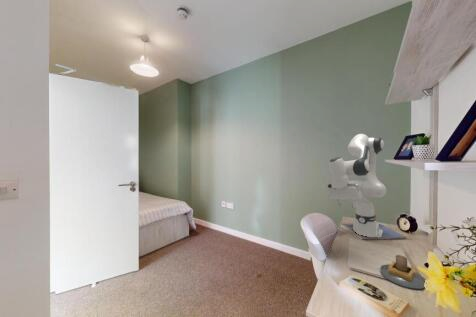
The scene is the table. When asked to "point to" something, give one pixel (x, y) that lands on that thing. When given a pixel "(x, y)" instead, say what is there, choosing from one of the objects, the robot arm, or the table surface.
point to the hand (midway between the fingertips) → (346, 206)
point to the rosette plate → (403, 276)
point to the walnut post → (401, 263)
